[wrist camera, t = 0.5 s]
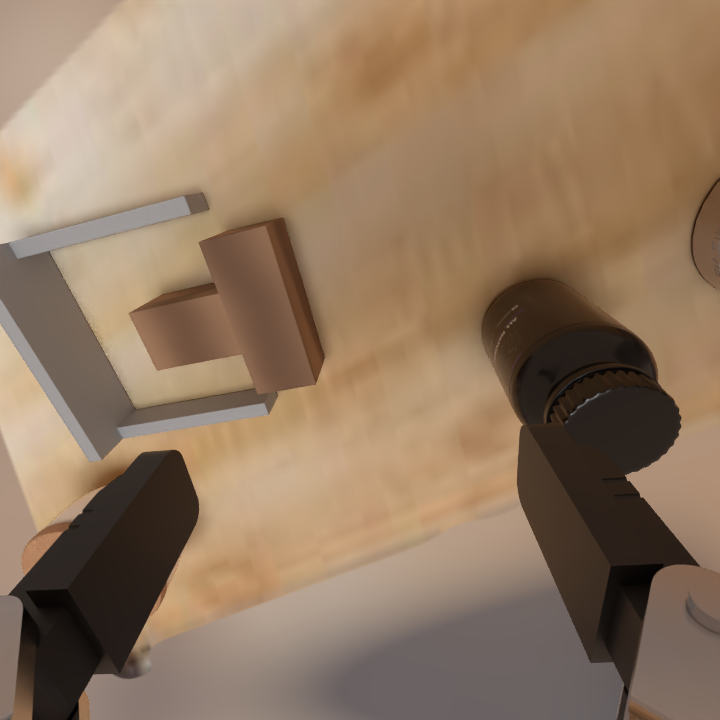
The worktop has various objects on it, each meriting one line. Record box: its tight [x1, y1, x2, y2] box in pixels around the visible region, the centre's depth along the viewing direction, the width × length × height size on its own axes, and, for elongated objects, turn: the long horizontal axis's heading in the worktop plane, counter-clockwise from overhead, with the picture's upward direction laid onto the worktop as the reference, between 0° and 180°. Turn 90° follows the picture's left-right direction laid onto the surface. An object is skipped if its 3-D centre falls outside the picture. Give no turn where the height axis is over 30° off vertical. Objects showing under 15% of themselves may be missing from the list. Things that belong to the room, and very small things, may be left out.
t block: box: [129, 218, 325, 394], centre depth 26 cm, size 10×10×4 cm
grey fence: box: [0, 193, 278, 462], centre depth 27 cm, size 13×15×5 cm
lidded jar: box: [22, 485, 182, 616], centre depth 33 cm, size 11×11×9 cm
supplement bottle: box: [482, 279, 681, 475], centre depth 22 cm, size 7×7×12 cm
